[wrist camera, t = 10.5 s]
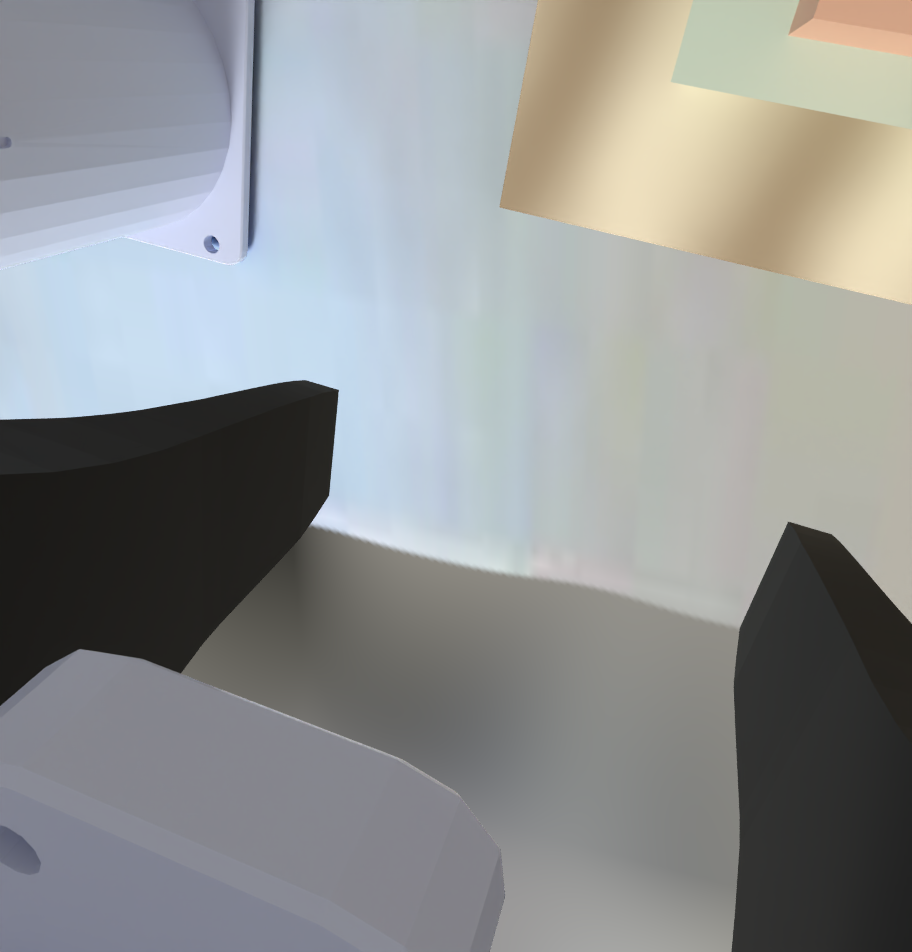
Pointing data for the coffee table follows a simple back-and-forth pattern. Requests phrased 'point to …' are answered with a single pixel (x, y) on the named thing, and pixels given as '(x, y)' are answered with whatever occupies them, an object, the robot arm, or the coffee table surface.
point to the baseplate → (702, 156)
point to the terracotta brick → (857, 23)
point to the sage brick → (789, 63)
